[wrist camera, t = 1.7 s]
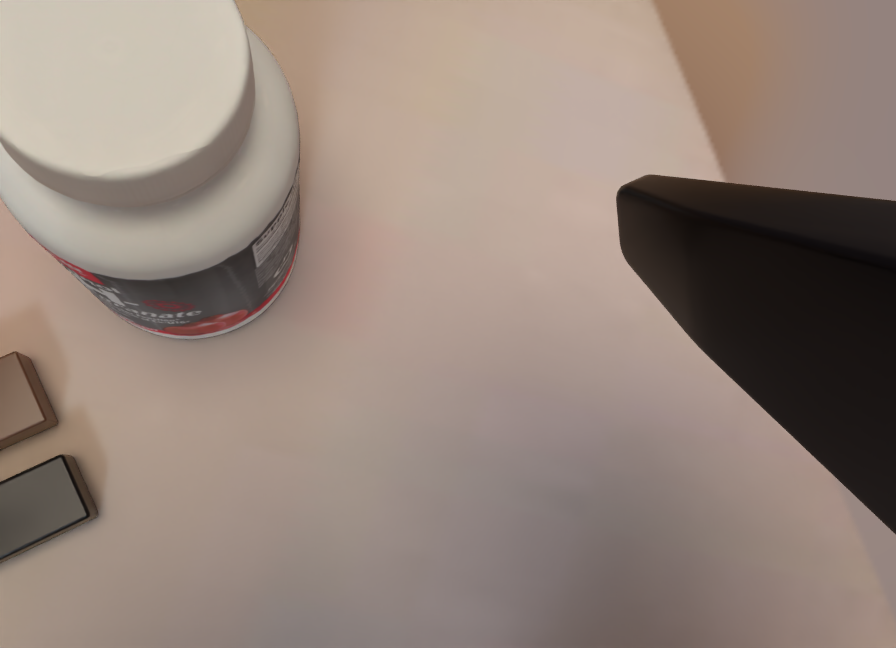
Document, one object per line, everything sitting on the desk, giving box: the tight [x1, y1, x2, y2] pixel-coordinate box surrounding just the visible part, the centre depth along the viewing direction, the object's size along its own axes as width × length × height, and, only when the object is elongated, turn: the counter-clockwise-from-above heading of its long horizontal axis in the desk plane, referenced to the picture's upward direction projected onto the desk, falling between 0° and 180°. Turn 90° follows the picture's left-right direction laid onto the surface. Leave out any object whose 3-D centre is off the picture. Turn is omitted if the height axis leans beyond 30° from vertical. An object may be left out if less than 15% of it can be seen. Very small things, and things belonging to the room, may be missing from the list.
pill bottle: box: [0, 0, 300, 339], centre depth 17 cm, size 5×5×10 cm
